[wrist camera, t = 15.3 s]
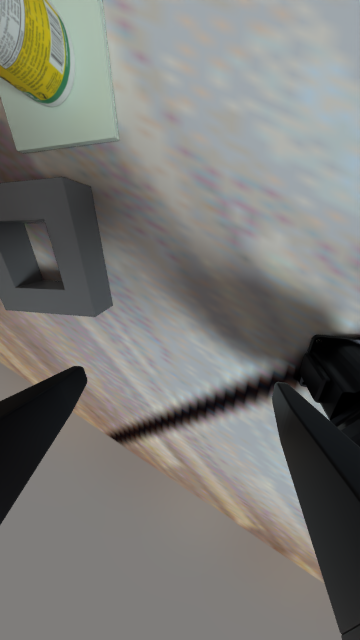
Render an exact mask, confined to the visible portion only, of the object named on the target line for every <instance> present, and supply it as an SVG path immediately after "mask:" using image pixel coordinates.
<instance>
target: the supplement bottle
mask: <svg viewBox="0 0 360 640" xmlns="http://www.w3.org/2000/svg"><path fill="white" fill-rule="evenodd" d="M0 77H1V78H2V79H4V80H5V81H7V82H8V83H10V84H11V85H13V86H14V87H15V88H17V89H18V90H19V91H21V92H22V93H24V94H25V95H27V96H28V97H30V98H31V99H33V100H34V101H36V102H38V103H40V104H42V105H45V106H49V107H54V106H58V105H61V104H62V103H63V102H64V101H65V100H66V99H67V97H68V96H69V94H70V92H71V90H72V88H73V84H74V79H75V54H74V49H73V44H72V40H71V37H70V34H69V31H68V29H67V27H66V25H65V23H64V21H63V19H62V17H61V15H60V14H59V12H58V11H57V9H56V8H55V7H54V5H53V4H52V3H51V1H50V0H0Z"/></svg>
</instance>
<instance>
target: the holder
mask: <svg viewBox="0 0 360 640" xmlns="http://www.w3.org/2000/svg"><path fill="white" fill-rule="evenodd" d="M39 222H45V223H46V227H47V230H48V233H49V237H50V240H51V244H52V247H53V250H54V254H55V257H56V261H57V264H58V268H59V271H60V274H61V278H62V281H46V280H43V279H42V276H41V273H40V270H39V267H38V264H37V261H36V258H35V256H34V253H33V250H32V247H31V244H30V241H29V238H28V235H27V232H26V229H25V226H24V223H39ZM0 298H1V301H2V303H3V305H4V307H5V309H6V310H12V311H25V312H38V313H51V314H64V315H77V316H89V317H96V316H97V315H99V314H100V313H102V312H103V311H105V310H107V309H108V308H110V307H111V306H113V304H112V298H111V293H110V288H109V282H108V277H107V272H106V266H105V261H104V255H103V250H102V245H101V239H100V234H99V229H98V223H97V218H96V213H95V207H94V202H93V197H92V191H91V187H90V186H87V185H84V184H81V183H78V182H75V181H72V180H69V179H66V178H63V177H58V178H47V179H37V180H27V181H17V182H6V183H0Z"/></svg>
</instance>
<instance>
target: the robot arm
mask: <svg viewBox="0 0 360 640" xmlns="http://www.w3.org/2000/svg"><path fill="white" fill-rule="evenodd" d="M318 339H320V341H317V340H318ZM299 373H300V377H299V380H298V382H299V384H300V385H301V386H304V387H307V388H308V390H309V392H310V394H311V396H312V398H313V399H314V401H315V402H317V403H320V404H321V406H322V407H323V409H324V411H325V413H326V415H327V416H328V418H329V420H330V421H329V420H328V419H327V418H326V417H325V416H324V415H323V414H321V413H320V412H319V411H318V410H317V409H316V408H315V407H313V406H312V405H311V404H310V403H309V402H308V401H307V400H306V399H304V398H303V397H302V396H301V395H300V394H299V393H298V392H296V391H295V390H294V389H293V388H292V387H291V386H290V385H288V384H287V383H279V382H277V383H276V384H275V387H274V391H273V396H272V402H273V407H274V412H275V417H276V422H277V427H278V432H279V437H280V441H281V445H282V448H283V451H284V455H285V458H286V461H287V464H288V467H289V471H290V474H291V477H292V480H293V483H294V487H295V490H296V493H297V496H298V499H299V503H300V506H301V509H302V512H303V515H304V519H305V522H306V525H307V528H308V531H309V535H310V538H311V541H312V544H313V547H314V550H315V554H316V557H317V560H318V563H319V566H320V570H321V573H322V576H323V579H324V582H325V586H326V589H327V592H328V595H329V598H330V601H331V605H332V608H333V611H334V614H335V618H336V621H337V624H338V627H339V630H340V633H341V634H342V636H341V637H342V640H360V338H351V337H338V336H325V335H316V336H314V337H313V338H312V340H311V343H310V346H309V349H308V352H307V353H306V354H305V356H304V359H303V362H302V365H301V368H300V371H299ZM86 384H87V377H86V374H85V371H84V368H83V367H81V366H73V367H71V368H69V369H67V370H65V371H62V372H60V373H58V374H56V375H54V376H52V377H50V378H48V379H46V380H44V381H42V382H40V383H37V384H35V385H33V386H31V387H29V388H27V389H25V390H23V391H21V392H19V393H17V394H15V395H13V396H10V397H8V398H6V399H4V400H2V401H0V524H1V523H2V521H3V520H4V518H5V517H6V515H7V514H8V512H9V510H10V509H11V507H12V505H13V504H14V502H15V501H16V499H17V498H18V496H19V495H20V493H21V491H22V490H23V488H24V487H25V485H26V484H27V482H28V481H29V479H30V477H31V476H32V474H33V473H34V471H35V470H36V468H37V466H38V464H39V463H40V462H41V460H42V458H43V457H44V455H45V454H46V452H47V451H48V449H49V448H50V446H51V444H52V443H53V441H54V440H55V438H56V436H57V435H58V433H59V432H60V430H61V428H62V427H63V425H64V424H65V422H66V420H67V419H68V417H69V416H70V414H71V413H72V411H73V409H74V407H75V405H76V403H77V401H78V399H79V397H80V396H81V394H82V392H83V390H84V388H85V386H86Z"/></svg>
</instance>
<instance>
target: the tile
mask: <svg viewBox="0 0 360 640" xmlns="http://www.w3.org/2000/svg"><path fill="white" fill-rule="evenodd" d="M50 1H51V3H52V4H53V5H54V7H55V8H56V9H57V11H58V12H59V14H60V15H61V17H62V19H63V21H64V23H65V25H66V27H67V29H68V31H69V34H70V37H71V40H72V44H73V49H74V54H75V79H74V84H73V88H72V90H71V92H70V94H69V96H68V97H67V99H66V100H65V101H64V102H63V103H62V104H61V105H58V106H54V107H49V106H45V105H42V104H40V103H38V102H36V101H34V100H33V99H31V98H30V97H28V96H27V95H25V94H24V93H22V92H21V91H19V90H18V89H17V88H15V87H14V86H13V85H11V84H10V83H8V82H7V81H5V80H4V79H2V78H1V77H0V97H1V100H2V103H3V107H4V110H5V113H6V116H7V120H8V123H9V126H10V129H11V133H12V136H13V139H14V143H15V146H16V149H17V151H18V152H21V153H30V152H37V151H45V150H52V149H60V148H67V147H74V146H82V145H89V144H97V143H104V142H112V141H119V135H118V127H117V119H116V110H115V102H114V94H113V86H112V78H111V69H110V61H109V53H108V45H107V37H106V28H105V20H104V12H103V4H102V0H50Z"/></svg>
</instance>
